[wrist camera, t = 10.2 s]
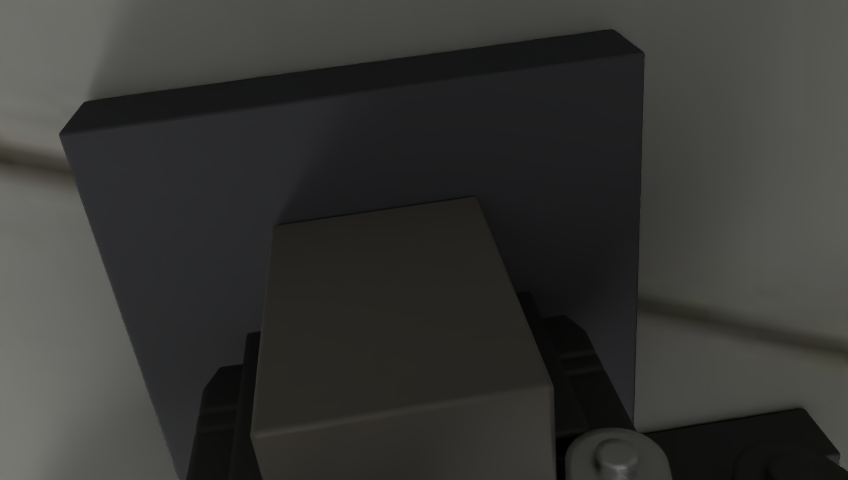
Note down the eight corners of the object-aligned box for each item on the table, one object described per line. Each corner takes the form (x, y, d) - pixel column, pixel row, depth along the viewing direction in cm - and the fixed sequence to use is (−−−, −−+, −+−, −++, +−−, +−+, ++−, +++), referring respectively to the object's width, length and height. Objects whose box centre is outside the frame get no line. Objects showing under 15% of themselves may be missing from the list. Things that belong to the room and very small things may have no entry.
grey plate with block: (615, 28, 14) (823, 187, 8) (609, 520, 20) (728, 812, 14) (82, 101, 13) (-94, 323, 8) (238, 583, 19) (206, 912, 13)
